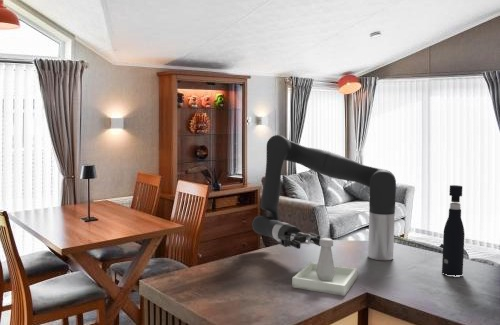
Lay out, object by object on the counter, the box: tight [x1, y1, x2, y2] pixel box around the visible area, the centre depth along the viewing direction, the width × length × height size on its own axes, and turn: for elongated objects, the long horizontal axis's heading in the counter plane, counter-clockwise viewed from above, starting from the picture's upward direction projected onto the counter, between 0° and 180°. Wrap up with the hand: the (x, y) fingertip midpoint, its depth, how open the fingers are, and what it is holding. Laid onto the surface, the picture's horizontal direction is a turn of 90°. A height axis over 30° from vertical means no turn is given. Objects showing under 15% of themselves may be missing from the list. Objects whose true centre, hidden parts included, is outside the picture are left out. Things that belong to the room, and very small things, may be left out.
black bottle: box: [441, 184, 465, 276], centre depth 151 cm, size 6×6×30 cm
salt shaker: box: [316, 237, 335, 281], centre depth 143 cm, size 6×6×13 cm
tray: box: [291, 261, 358, 297], centre depth 143 cm, size 18×16×3 cm
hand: (310, 244), depth 151 cm, fingers open, 8 cm apart
